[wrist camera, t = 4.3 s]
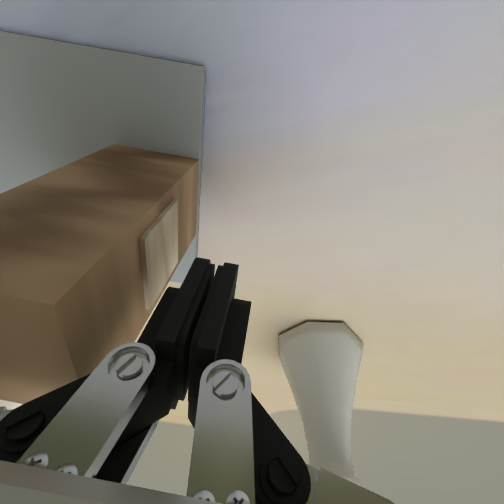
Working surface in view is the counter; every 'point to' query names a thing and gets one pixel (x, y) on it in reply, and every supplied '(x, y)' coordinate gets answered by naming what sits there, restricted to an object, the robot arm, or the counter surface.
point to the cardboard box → (87, 261)
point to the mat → (93, 109)
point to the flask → (324, 389)
